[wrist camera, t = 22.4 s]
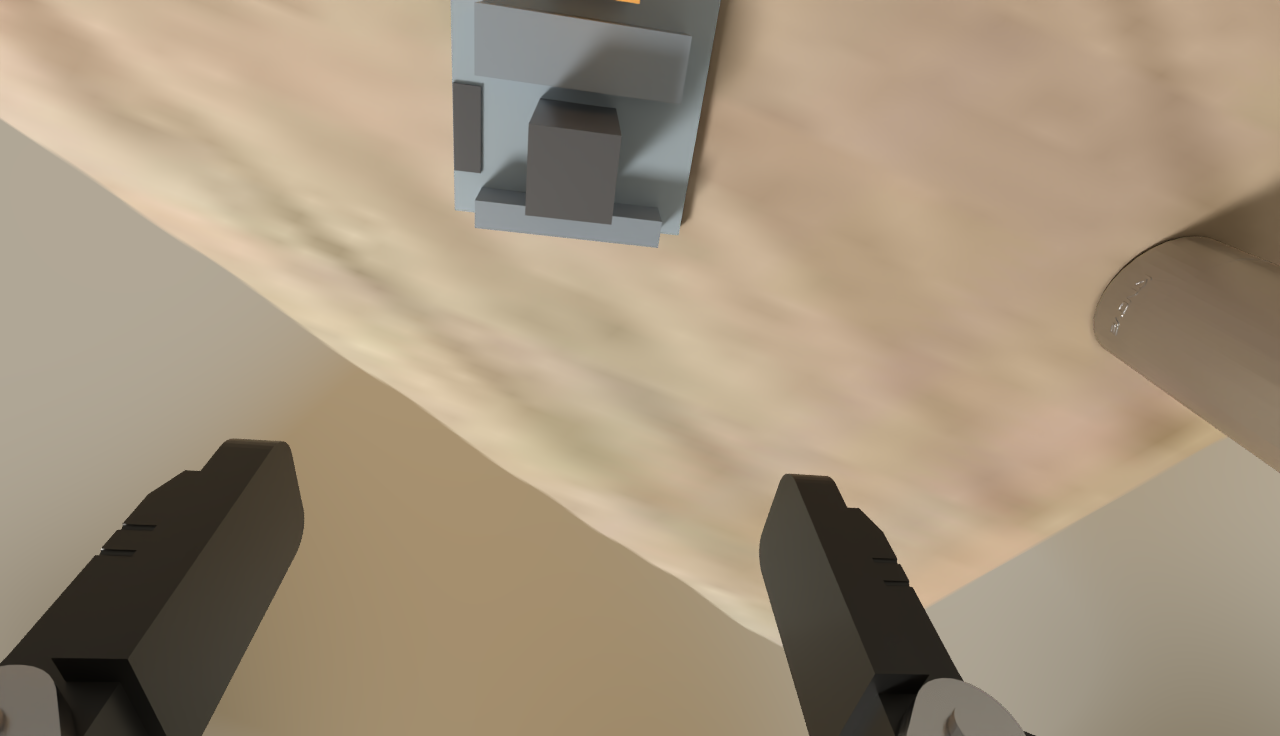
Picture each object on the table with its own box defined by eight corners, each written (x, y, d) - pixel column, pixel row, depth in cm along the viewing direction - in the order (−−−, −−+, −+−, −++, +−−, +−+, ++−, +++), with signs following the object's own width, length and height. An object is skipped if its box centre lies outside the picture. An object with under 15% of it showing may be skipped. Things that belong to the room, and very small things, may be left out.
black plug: (615, 108, 32) (621, 135, 26) (607, 183, 34) (611, 224, 28) (540, 98, 32) (528, 123, 26) (536, 175, 34) (525, 215, 28)
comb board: (743, -149, 28) (761, -165, 25) (676, 229, 37) (683, 250, 34) (451, -208, 26) (433, -233, 23) (458, 204, 35) (446, 224, 32)
